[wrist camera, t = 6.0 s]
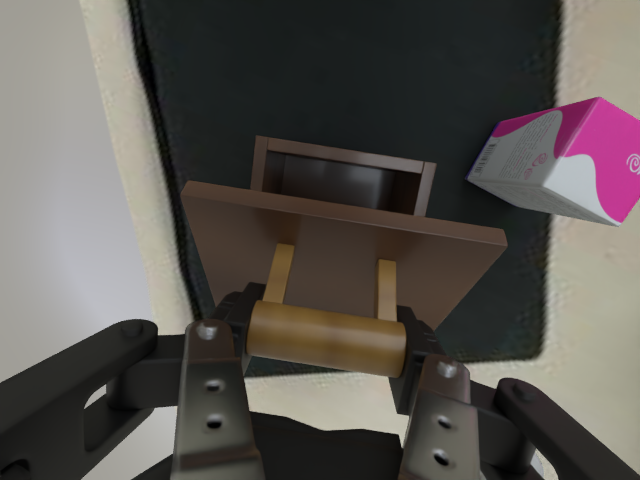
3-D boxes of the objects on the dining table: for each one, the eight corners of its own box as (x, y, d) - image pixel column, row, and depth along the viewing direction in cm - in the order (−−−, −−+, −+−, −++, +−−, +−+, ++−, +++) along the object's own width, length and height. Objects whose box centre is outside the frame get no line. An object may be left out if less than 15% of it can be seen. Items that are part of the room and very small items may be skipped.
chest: (279, 145, 31) (255, 135, 22) (405, 164, 31) (437, 163, 21) (261, 293, 34) (233, 342, 25) (375, 311, 34) (391, 367, 25)
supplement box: (517, 208, 31) (620, 231, 20) (462, 179, 31) (535, 186, 20) (554, 150, 30) (685, 141, 19) (497, 119, 30) (596, 91, 19)
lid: (187, 179, 12) (118, 305, 9) (503, 228, 12) (543, 372, 9) (233, 340, 24) (210, 418, 21) (393, 366, 24) (393, 447, 21)
